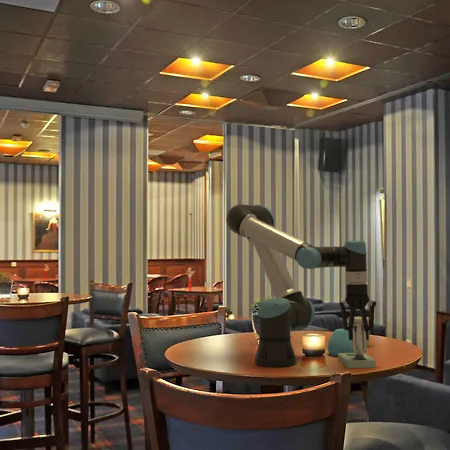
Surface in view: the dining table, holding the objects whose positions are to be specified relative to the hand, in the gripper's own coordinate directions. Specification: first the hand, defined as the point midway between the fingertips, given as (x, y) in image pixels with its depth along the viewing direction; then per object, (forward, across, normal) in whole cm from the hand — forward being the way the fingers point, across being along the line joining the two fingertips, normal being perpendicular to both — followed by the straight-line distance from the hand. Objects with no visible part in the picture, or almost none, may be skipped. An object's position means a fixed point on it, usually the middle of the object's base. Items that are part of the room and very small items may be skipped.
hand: (359, 349), depth 214 cm
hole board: (+6, 0, +4) cm, 7 cm away
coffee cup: (+6, +11, +42) cm, 43 cm away
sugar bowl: (+6, +1, +23) cm, 23 cm away
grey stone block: (+4, 0, 0) cm, 4 cm away
